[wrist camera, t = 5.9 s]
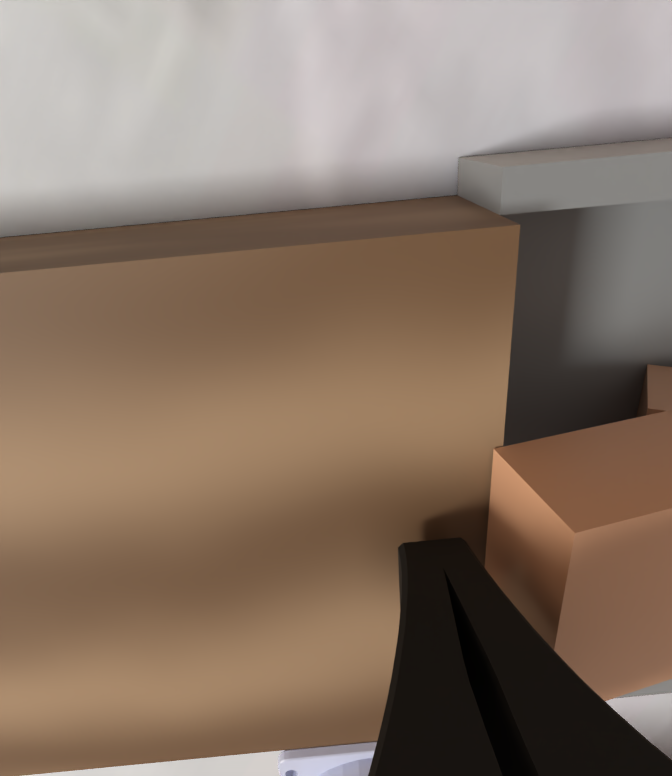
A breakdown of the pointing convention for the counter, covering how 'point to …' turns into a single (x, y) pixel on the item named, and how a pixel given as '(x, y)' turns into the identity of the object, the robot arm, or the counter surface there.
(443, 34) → the counter surface
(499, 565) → the tile front
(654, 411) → the tile rear
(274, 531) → the dark wood platform
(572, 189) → the tray
